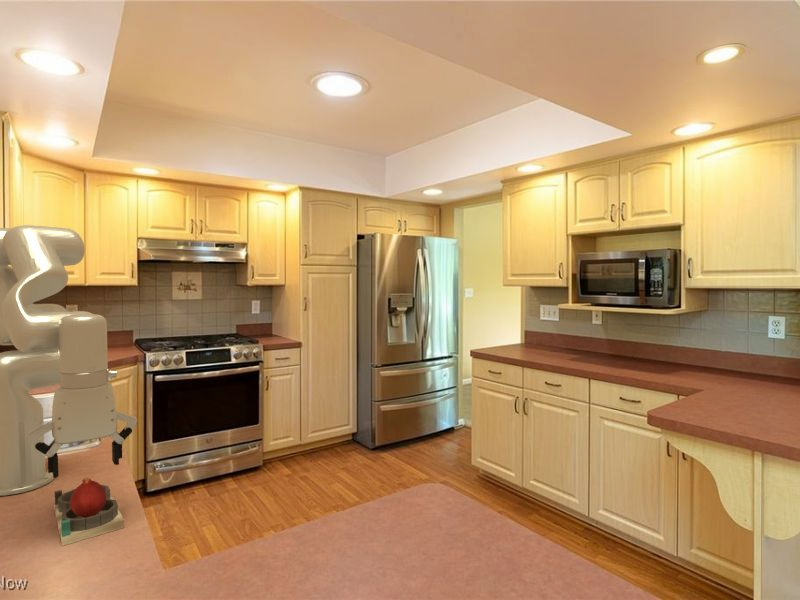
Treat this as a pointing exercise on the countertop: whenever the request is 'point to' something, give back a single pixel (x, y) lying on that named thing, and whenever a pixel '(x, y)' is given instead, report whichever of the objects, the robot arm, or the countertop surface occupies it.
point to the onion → (88, 498)
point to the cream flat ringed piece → (85, 519)
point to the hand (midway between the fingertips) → (86, 468)
